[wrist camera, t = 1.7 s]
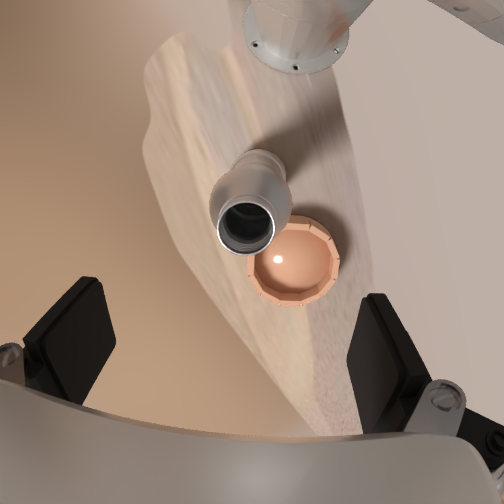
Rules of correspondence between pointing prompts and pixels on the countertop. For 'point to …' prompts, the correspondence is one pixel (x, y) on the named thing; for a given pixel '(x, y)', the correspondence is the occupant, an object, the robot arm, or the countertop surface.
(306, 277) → the round tray
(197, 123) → the countertop surface
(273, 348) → the countertop surface
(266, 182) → the plastic bottle
